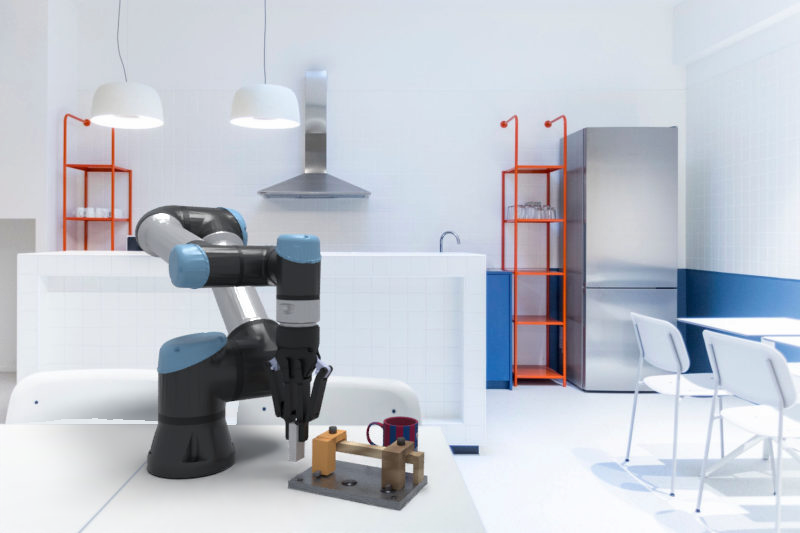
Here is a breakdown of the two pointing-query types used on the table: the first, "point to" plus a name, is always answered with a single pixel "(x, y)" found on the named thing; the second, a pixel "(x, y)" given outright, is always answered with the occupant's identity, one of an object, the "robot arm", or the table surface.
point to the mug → (397, 430)
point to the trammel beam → (390, 460)
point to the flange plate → (357, 485)
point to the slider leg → (326, 450)
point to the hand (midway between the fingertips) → (296, 459)
